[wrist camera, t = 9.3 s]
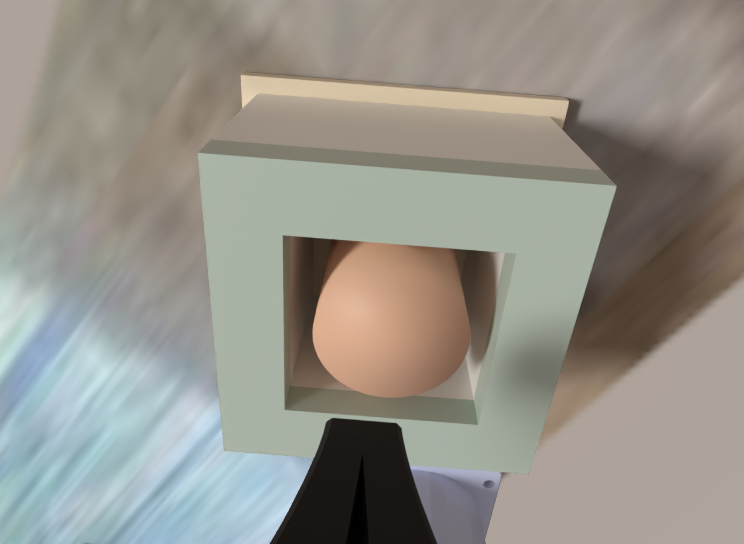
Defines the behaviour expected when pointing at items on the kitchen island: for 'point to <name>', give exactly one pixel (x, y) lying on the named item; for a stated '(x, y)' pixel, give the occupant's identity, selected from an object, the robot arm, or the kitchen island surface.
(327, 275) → the peg
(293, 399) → the socket
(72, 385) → the kitchen island surface
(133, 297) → the kitchen island surface
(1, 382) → the kitchen island surface
